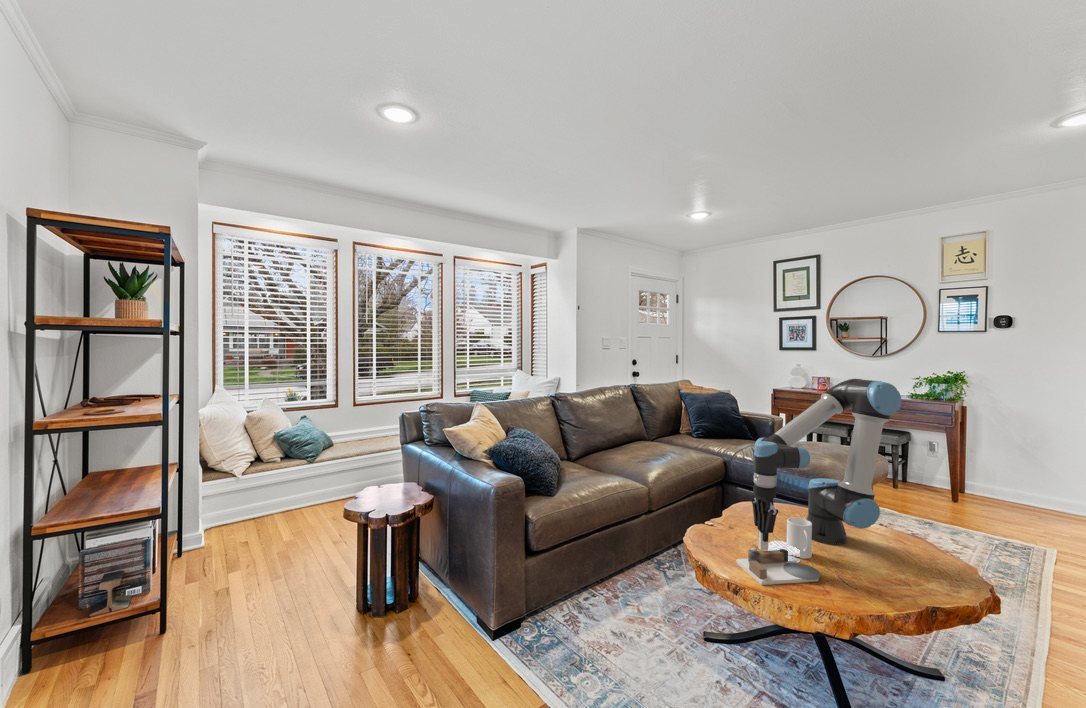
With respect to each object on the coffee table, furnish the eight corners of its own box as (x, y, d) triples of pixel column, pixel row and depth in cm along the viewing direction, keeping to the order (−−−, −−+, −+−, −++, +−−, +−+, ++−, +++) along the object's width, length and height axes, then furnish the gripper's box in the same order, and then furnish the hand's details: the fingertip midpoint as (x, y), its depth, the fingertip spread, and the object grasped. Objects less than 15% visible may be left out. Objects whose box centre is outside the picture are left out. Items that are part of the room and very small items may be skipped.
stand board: (795, 559, 167) (796, 541, 167) (828, 582, 151) (829, 563, 151) (736, 562, 164) (736, 545, 164) (763, 586, 148) (763, 567, 148)
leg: (783, 557, 164) (784, 547, 164) (790, 562, 161) (790, 552, 161) (746, 559, 163) (746, 549, 162) (752, 564, 159) (752, 554, 159)
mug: (818, 564, 163) (819, 530, 163) (792, 561, 165) (793, 528, 165) (807, 549, 175) (808, 518, 174) (782, 547, 177) (783, 516, 176)
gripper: (745, 479, 174) (743, 541, 175) (766, 491, 161) (764, 557, 162) (763, 479, 175) (761, 540, 176) (786, 490, 162) (784, 556, 163)
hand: (763, 548), depth 169 cm, fingers closed
